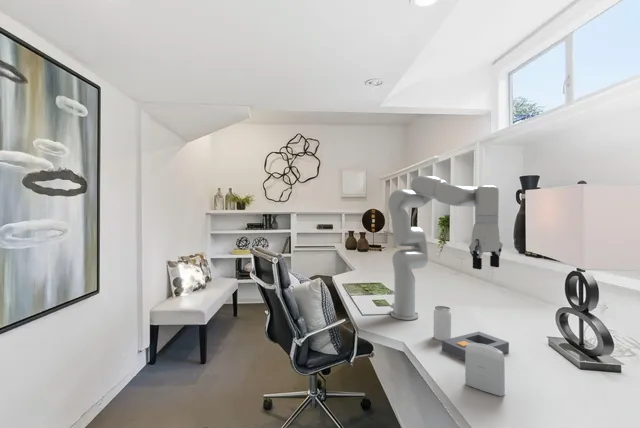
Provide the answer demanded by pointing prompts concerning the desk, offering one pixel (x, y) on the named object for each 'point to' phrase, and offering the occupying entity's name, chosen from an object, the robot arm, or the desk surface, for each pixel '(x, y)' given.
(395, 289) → the robot arm
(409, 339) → the desk surface
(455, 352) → the grey socket block
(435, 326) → the can
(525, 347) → the desk surface
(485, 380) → the photo printer
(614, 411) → the desk surface
